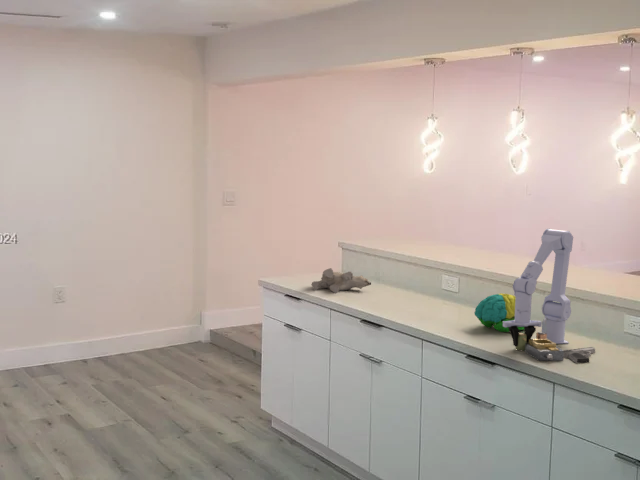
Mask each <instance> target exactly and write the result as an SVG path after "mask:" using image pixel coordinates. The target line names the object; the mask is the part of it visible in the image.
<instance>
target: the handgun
mask: <svg viewBox="0 0 640 480" xmlns="http://www.w3.org/2000/svg"><path fill="white" fill-rule="evenodd" d="M562 350H563V351H564V356H563V359H564V358H565V359H567V358H568V359H570V360H571V361H572V362H574V363H575V364H583V363H590V357H591V355H592V354H594V353H595V352H596V348H595V347H594V346H590V347H581V348H574V349H565V350H564V349H562Z"/></svg>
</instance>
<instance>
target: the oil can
mask: <svg viewBox="0 0 640 480" xmlns="http://www.w3.org/2000/svg"><path fill="white" fill-rule="evenodd" d="M526 341H527V335H526V334H525V332H524V333H523V332H519V335H518V346H515V350H516V349H517V350H516V351H519V350H522V352H523V351H524V350H525V343H526ZM524 352H525V351H524Z"/></svg>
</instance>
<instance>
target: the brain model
mask: <svg viewBox="0 0 640 480" xmlns="http://www.w3.org/2000/svg"><path fill="white" fill-rule="evenodd" d="M515 299H516V297H515V295H513V294H509V293H497V294H491V295H489V296H487V297H485V298H483V299H482V300H480V302H478V304H477V305H476V307H475V310H474V316H475V317H476V318H477V319H478V320H479V322H480V324H481V325H482V326H484V327H486V328H493V329H495V330H496V331H497V332H499V333H500V332H501V333H510V330H509V328H508V327H503V321H511V320H514V319H515ZM517 328H518V329H519V330H520V331H522V330H524V327H517ZM524 331H525V330H524Z"/></svg>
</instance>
